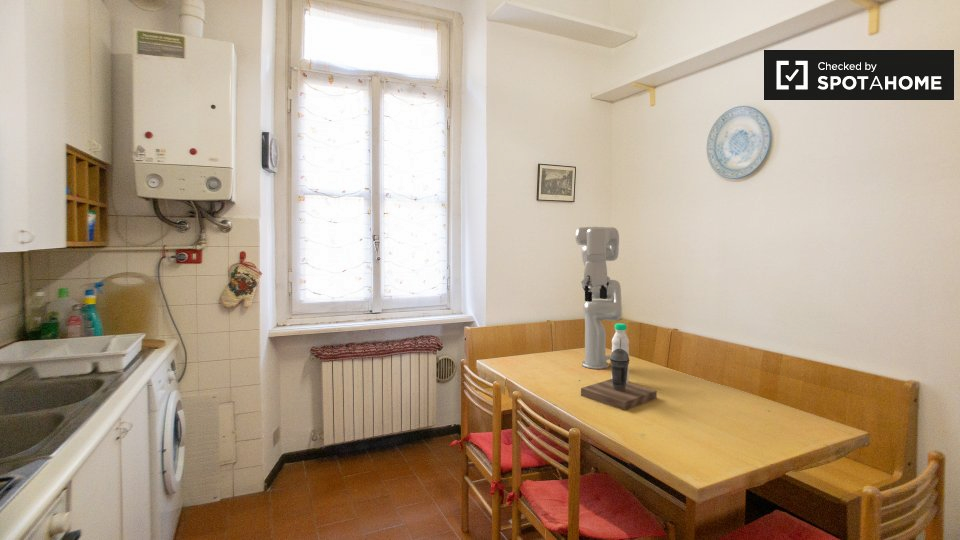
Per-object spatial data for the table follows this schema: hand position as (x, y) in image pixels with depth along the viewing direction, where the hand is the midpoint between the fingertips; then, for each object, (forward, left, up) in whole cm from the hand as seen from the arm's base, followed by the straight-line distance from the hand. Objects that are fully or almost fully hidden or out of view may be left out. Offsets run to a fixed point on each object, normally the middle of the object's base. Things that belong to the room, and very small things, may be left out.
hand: (595, 299), depth 189 cm
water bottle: (-12, +3, -36) cm, 38 cm away
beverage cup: (+3, +14, -33) cm, 36 cm away
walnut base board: (+4, +14, -36) cm, 39 cm away
